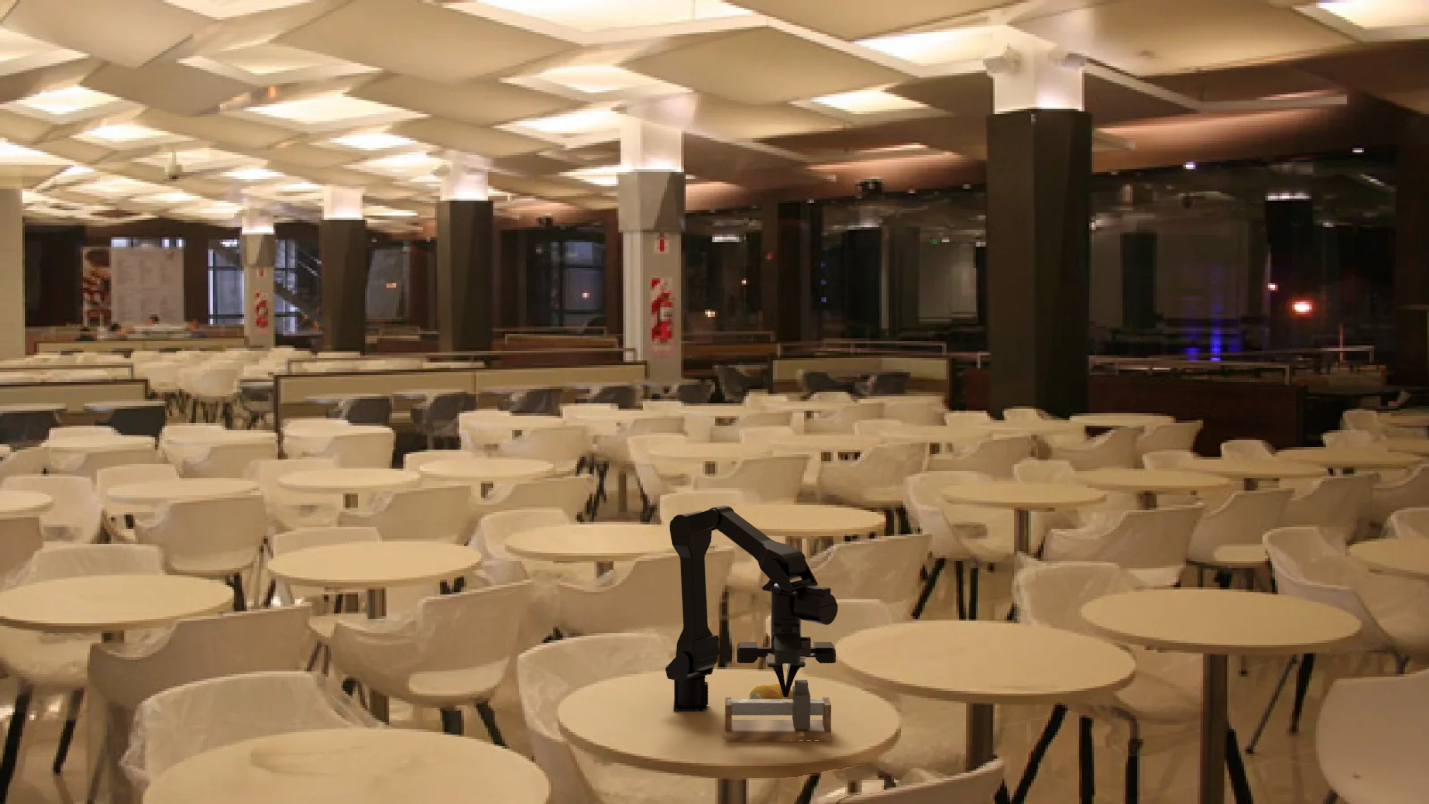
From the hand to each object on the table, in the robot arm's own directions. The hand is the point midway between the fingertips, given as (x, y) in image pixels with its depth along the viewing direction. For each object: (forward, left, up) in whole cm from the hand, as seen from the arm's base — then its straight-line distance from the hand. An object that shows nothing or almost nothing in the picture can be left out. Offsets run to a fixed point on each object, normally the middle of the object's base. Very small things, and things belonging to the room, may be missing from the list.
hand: (785, 696), depth 277 cm
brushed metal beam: (-2, 0, -4) cm, 4 cm away
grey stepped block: (+3, 0, -5) cm, 6 cm away
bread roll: (-2, +20, -8) cm, 22 cm away
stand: (-2, 0, -7) cm, 7 cm away
